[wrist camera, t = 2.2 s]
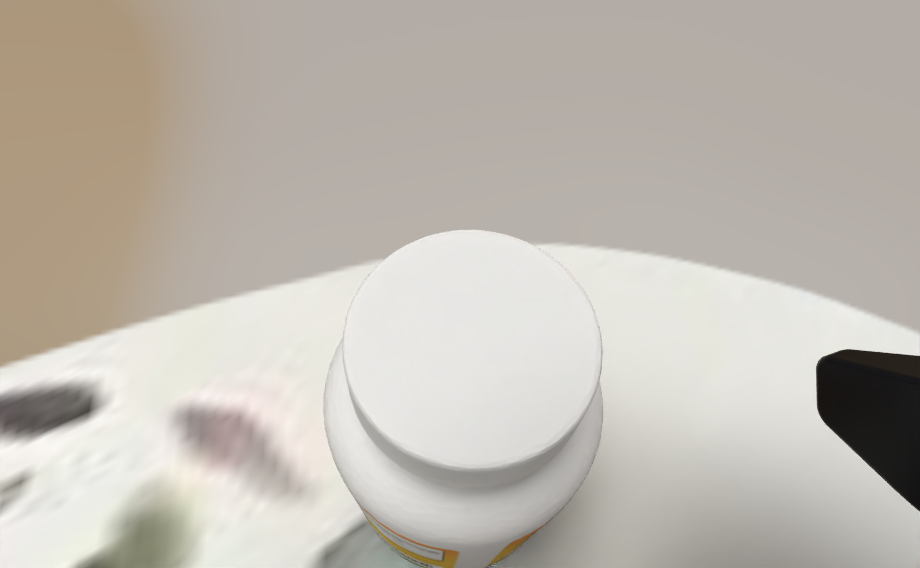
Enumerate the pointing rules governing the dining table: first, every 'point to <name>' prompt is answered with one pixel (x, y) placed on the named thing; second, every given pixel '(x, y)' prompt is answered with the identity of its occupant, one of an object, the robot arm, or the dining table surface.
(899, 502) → the dining table surface
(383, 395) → the supplement bottle
